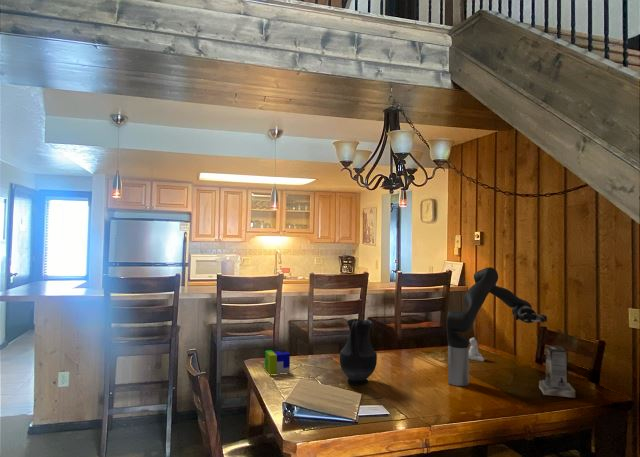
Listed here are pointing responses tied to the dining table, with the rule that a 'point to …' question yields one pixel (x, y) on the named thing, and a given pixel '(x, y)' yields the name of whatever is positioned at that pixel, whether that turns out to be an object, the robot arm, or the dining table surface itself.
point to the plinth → (556, 390)
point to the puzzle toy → (277, 361)
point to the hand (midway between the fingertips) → (533, 319)
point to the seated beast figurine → (474, 351)
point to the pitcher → (358, 353)
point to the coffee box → (556, 366)
